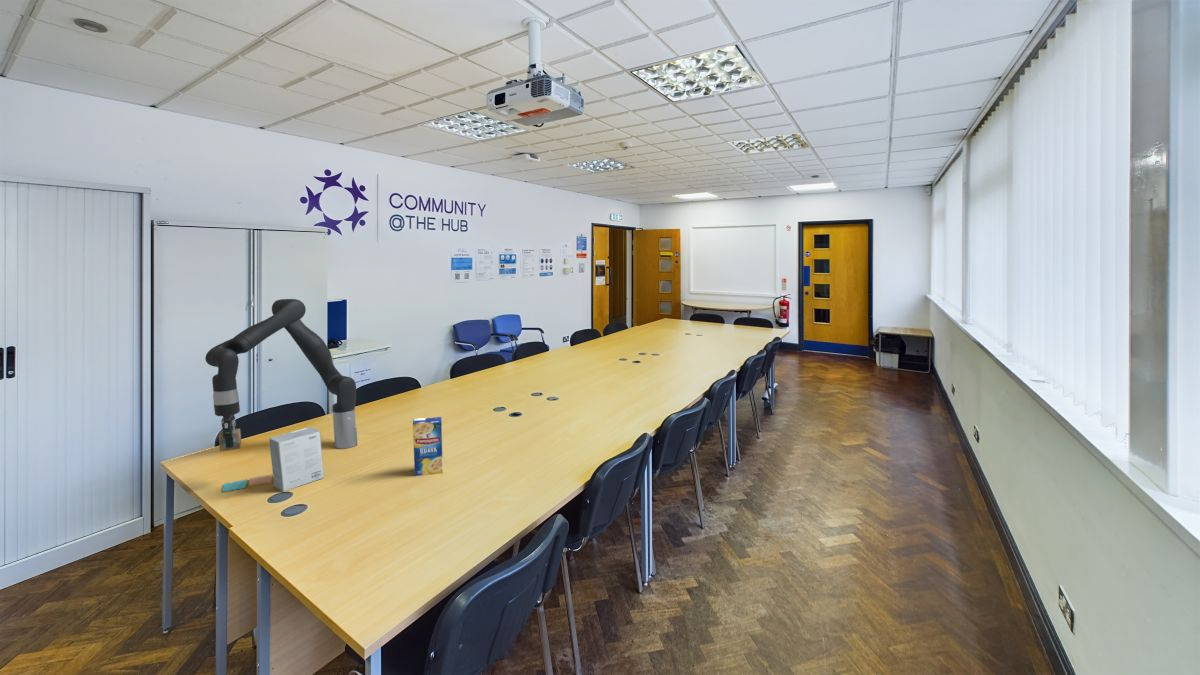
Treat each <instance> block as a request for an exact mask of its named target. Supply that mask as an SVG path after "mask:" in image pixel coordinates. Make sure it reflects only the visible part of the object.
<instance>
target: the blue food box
mask: <svg viewBox="0 0 1200 675" xmlns="http://www.w3.org/2000/svg"><path fill="white" fill-rule="evenodd" d="M442 423H443V422H442V416H436V417H435V416H434V417H420V418H413V420H412V438H413V442H412V443H413V461H414V462H413V463H414V477H418V476H419V477H420V476H428V475H436V474H437V475H439V474H444V472H443V471H444V469H443V468H444V463H443V462H444V460H443V433H442V430H443V428H442V426H443V424H442Z"/></svg>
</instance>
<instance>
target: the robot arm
mask: <svg viewBox="0 0 1200 675" xmlns="http://www.w3.org/2000/svg"><path fill="white" fill-rule="evenodd" d="M306 309H307V308H306V306H305V303H304V302H303V301H301V300H299V299H296V298H281V299H277V300H274V302H273V303H272V306H271V312H272V315H271V316H268V318H266V319H264V320H262V321H259V322H257V323H255V324H253V325H251V326H249V327H247V328H245V329H243V330H242V331H241V332H239V333H238V334H236V335H235V336H234V337H233V338H230V339H228V340H226V341H223V342H222V343H219V344H217V345H215V346H214V347H213V346H212V348H210V350H208V351H207V353H205V354H206V355H205V358H204V359H205V362H206V364H207V365H209V366H211V367H214V368H218V370H217V374H214V375H213V376H212V382H211V383H212V391H213V392H212V393H213V394H212V398H213V399H212V400H213V409H214V415H215V416H216V417H222V419H221V421H220V424H221V426H222V428H221V431H223V437H224V438H225V443H226V448H230V447H233V431H234V429H236V427H237V426H236V416H235V415H237V414H239V413H240V412H241V407H240V397H239V390H238V387H237V386H238V384H237V379H236V378H237V374H238V370H239V362H240V361H239V356H238V355H241V354H245V353H248V352H249V351H251V350H252V349H254V348H255V347H257V346H258V345H259V344H261V343H262V342H263V341H265V340H266V339H268V338H269V337H270V336H272V335H274V334H276V333H277V332H279V331H280V330H282V329H285V331H287V333H288V334H289V335H290V337H291V338H292V339H293V340H294V342H295V343H296V345H297V346H298V348H299V349H300V350H301V352H302V353H303V355H304V356H305V358H306V359H307V361H308V362H310V364H311V366H313V368H314V370H316V371H317V373H318V375H319V376H320V378H321V380H322V382H323V383H324V385H325V386H326V388H327V390H328V391H329V392H330V393H331V394H333V396H334V395H335V396H336V402H335V403H333V405H332V407H331V409H332V420H333V437H334V448H336V449H342V450H343V449H350V448H353V447H355V446H356V447H357V446H358V429H357V422H356V403H357V384H356V381H355V379H354V378H352V377H350V376H345V375H342V374H341V372H340V371H338V369H337V368H336V367H335V365H334V363H333V359H332V358H333V357H332V353H331V350H330V348H329V347H328V346H327V344H326V342H325V341H324V339H322V338H321V336H319V335H318V334H317V333H316V332H315V331H313V330H312V329H310V328H309V327H308V326H306V324H305V323H303V321H302V319H303V317H304V316H305V314H306ZM226 432H230V434H228V435H226Z"/></svg>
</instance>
